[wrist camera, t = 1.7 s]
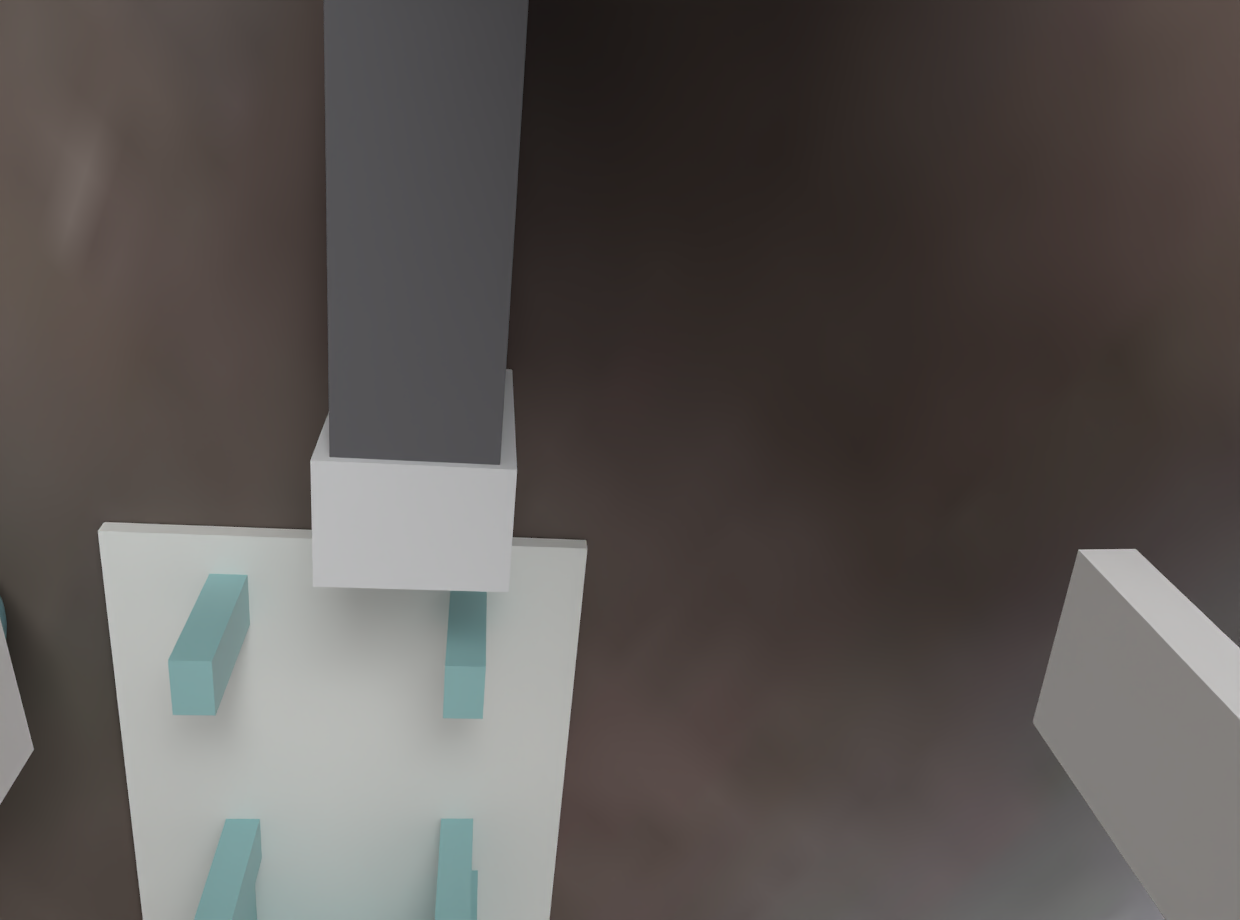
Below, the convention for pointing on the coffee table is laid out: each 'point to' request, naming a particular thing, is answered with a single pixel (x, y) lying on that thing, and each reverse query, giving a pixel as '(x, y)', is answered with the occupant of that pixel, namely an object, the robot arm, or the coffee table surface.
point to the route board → (338, 730)
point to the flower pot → (3, 617)
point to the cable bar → (419, 294)
